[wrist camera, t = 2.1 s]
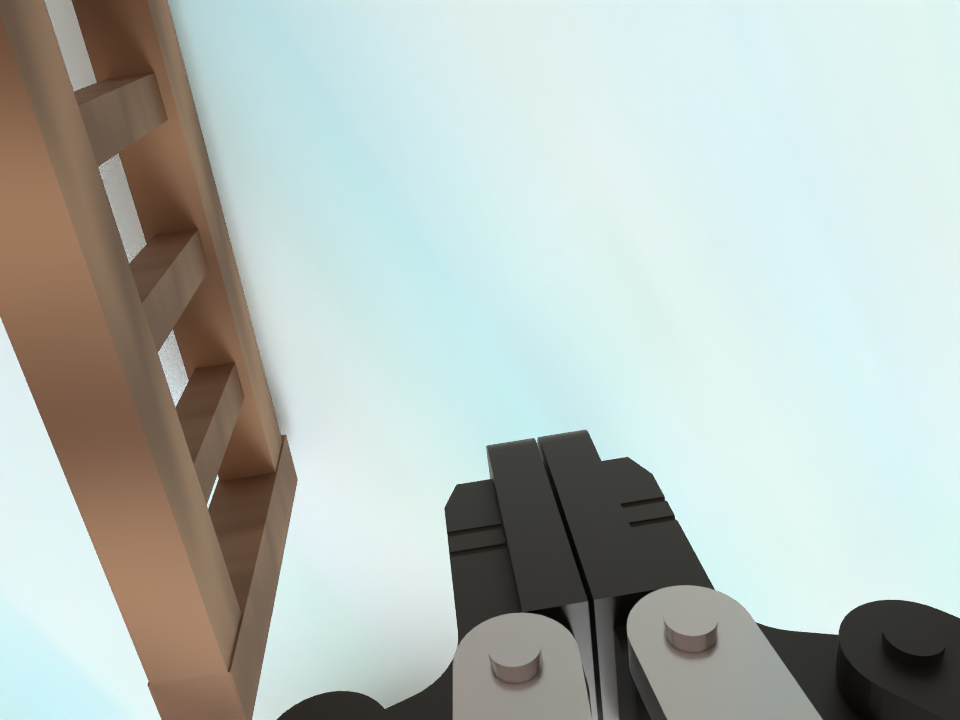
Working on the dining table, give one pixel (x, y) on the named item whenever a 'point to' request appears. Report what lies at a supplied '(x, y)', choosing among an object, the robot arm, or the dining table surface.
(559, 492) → the robot arm
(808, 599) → the dining table surface
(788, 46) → the dining table surface
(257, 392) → the walnut gate
